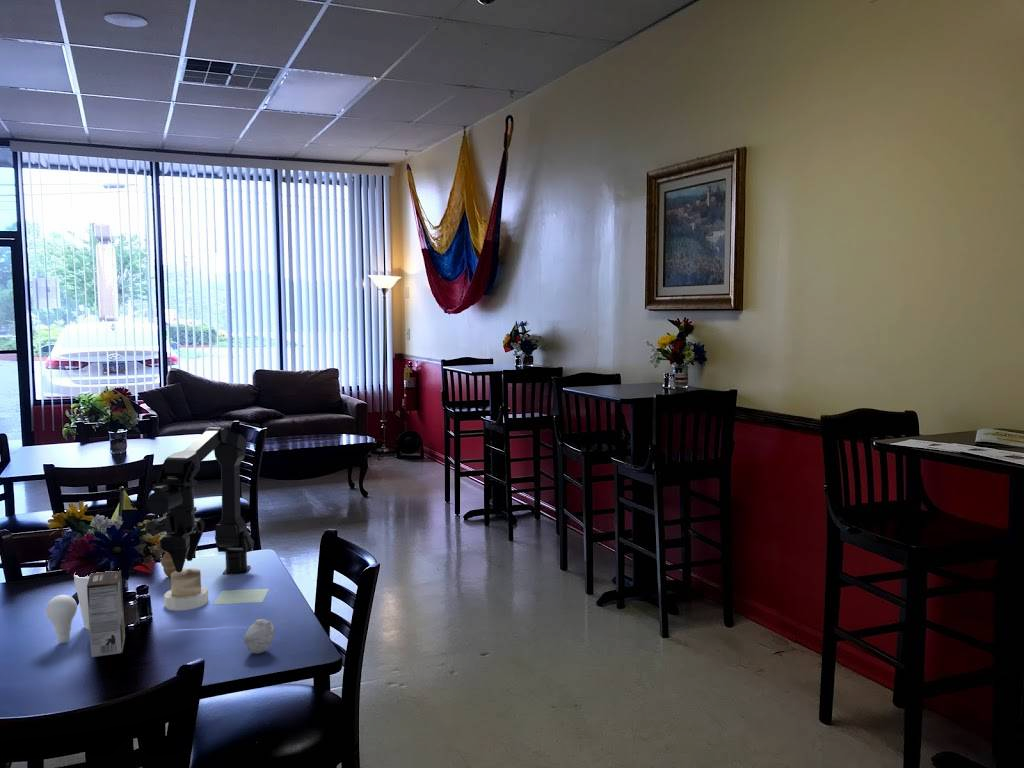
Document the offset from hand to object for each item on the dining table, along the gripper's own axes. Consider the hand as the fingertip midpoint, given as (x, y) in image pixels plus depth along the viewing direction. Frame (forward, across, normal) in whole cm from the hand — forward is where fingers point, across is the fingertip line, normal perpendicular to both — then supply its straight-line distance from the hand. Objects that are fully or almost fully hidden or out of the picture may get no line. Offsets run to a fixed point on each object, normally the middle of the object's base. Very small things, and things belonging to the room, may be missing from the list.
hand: (184, 566), depth 204 cm
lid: (+7, 0, 0) cm, 7 cm away
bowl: (+10, 0, 0) cm, 10 cm away
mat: (+10, -3, +13) cm, 17 cm away
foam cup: (+10, +11, -17) cm, 23 cm away
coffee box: (+10, +25, -10) cm, 29 cm away
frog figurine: (+10, +32, +24) cm, 41 cm away
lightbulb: (+10, +21, -21) cm, 31 cm away
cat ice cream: (+10, -23, -10) cm, 27 cm away
